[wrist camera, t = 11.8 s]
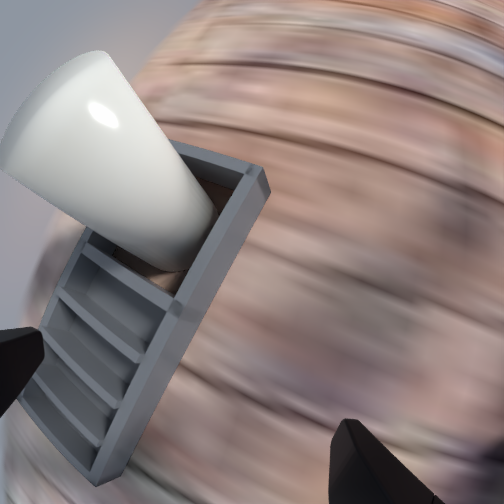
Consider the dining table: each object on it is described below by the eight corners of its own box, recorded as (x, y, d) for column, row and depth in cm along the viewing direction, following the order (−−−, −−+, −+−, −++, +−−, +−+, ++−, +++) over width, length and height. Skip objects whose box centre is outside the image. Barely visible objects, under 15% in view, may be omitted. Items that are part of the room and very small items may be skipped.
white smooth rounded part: (214, 273, 19) (69, 153, 7) (134, 270, 20) (-19, 183, 8) (224, 187, 21) (131, 33, 9) (149, 193, 22) (36, 78, 10)
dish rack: (120, 475, 16) (90, 489, 13) (41, 396, 19) (10, 397, 16) (271, 192, 20) (261, 162, 17) (163, 155, 23) (143, 129, 20)
